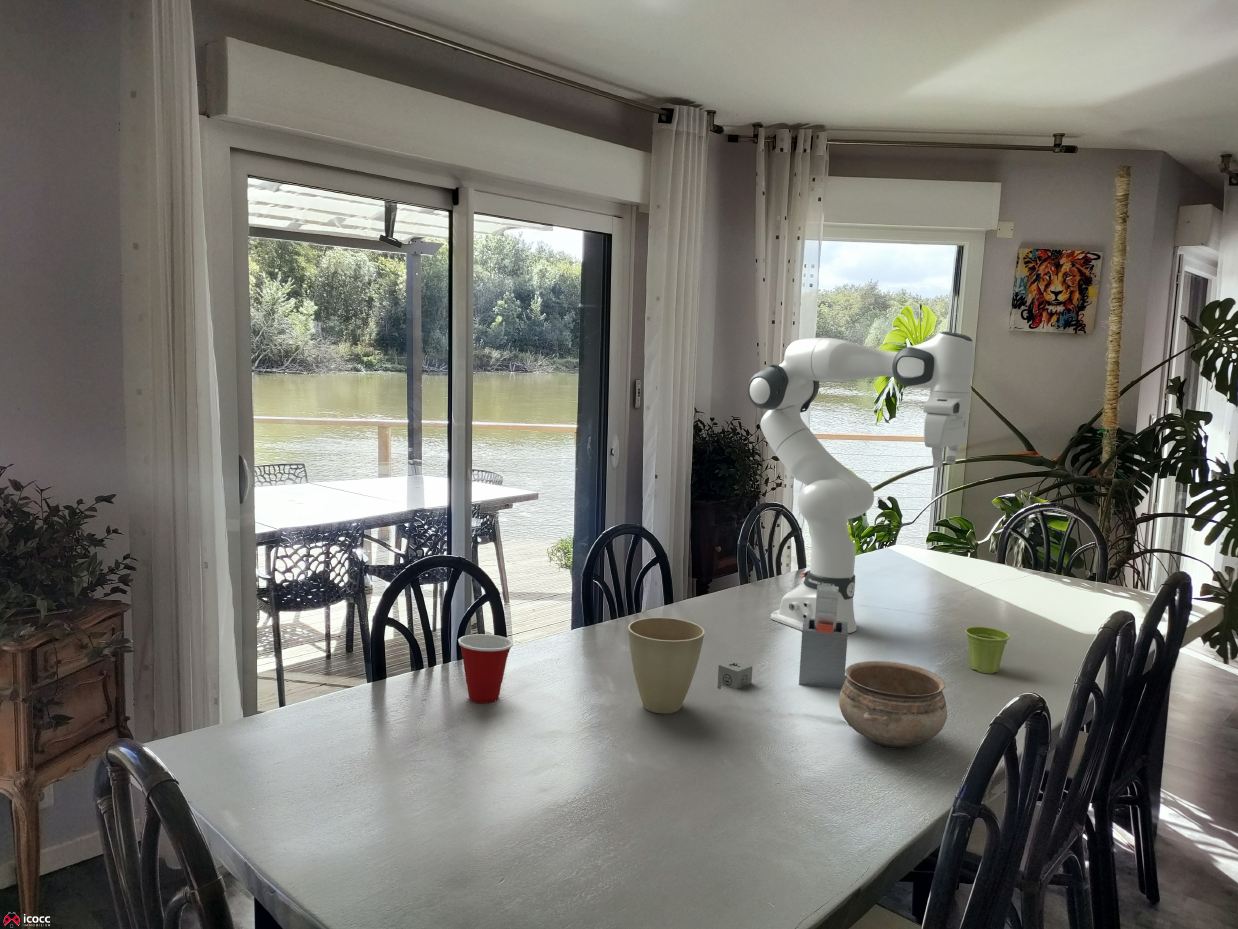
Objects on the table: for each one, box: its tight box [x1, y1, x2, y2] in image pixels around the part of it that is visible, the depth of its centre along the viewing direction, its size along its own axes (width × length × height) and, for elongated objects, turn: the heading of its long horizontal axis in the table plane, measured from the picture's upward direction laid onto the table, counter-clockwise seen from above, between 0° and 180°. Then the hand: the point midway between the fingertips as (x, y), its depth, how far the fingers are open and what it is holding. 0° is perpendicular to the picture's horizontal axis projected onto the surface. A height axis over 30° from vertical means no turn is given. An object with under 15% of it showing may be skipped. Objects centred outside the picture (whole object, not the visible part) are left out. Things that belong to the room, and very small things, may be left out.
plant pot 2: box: [964, 626, 1011, 674], centre depth 206 cm, size 9×9×9 cm
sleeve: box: [798, 618, 849, 691], centre depth 192 cm, size 16×16×14 cm
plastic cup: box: [457, 633, 514, 704], centre depth 179 cm, size 11×11×12 cm
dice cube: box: [717, 659, 753, 690], centre depth 189 cm, size 5×5×5 cm
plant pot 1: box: [627, 616, 705, 715], centre depth 177 cm, size 15×15×16 cm
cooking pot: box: [838, 660, 948, 750], centre depth 165 cm, size 25×19×12 cm
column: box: [814, 585, 839, 632], centre depth 191 cm, size 4×5×20 cm
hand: (944, 465), depth 206 cm, fingers open, 8 cm apart
